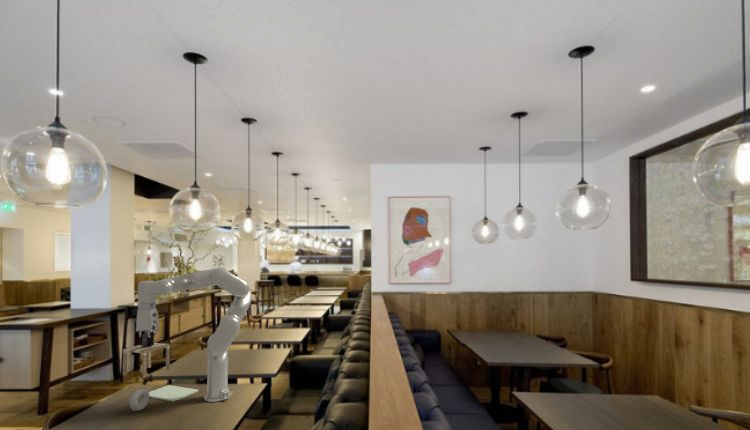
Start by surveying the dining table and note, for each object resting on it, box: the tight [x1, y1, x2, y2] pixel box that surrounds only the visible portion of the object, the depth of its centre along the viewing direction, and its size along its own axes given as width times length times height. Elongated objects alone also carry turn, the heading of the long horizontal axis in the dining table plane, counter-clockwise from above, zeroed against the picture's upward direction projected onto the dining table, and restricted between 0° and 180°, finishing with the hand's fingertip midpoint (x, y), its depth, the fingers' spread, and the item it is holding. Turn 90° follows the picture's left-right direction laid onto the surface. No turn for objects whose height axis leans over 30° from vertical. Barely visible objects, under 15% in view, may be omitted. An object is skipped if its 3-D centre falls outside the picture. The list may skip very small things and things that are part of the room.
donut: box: [129, 387, 150, 412], centre depth 197 cm, size 10×4×10 cm, turn 162°
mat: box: [148, 384, 199, 403], centre depth 219 cm, size 22×16×1 cm
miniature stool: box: [122, 332, 171, 379], centre depth 203 cm, size 14×14×18 cm
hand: (146, 344), depth 203 cm, fingers closed on miniature stool, 4 cm apart
